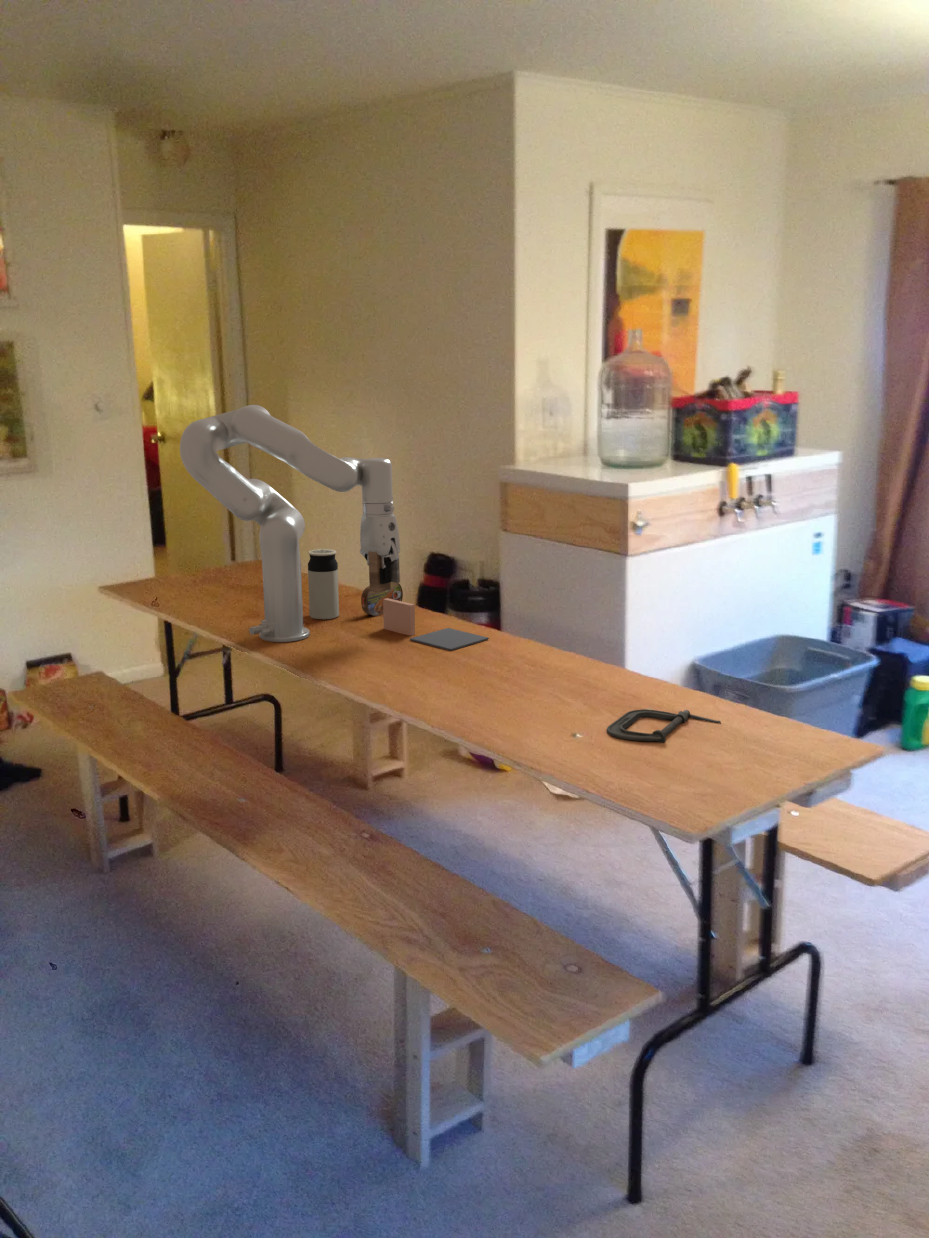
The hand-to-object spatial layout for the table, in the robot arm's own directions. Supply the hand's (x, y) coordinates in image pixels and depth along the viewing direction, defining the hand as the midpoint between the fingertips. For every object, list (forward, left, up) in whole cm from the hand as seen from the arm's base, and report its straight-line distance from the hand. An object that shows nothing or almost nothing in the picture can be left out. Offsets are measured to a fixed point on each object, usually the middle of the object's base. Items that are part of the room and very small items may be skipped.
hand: (380, 581), depth 267 cm
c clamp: (-9, -87, -15) cm, 89 cm away
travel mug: (+4, +26, -15) cm, 30 cm away
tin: (+18, +18, -15) cm, 29 cm away
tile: (+7, 0, -15) cm, 16 cm away
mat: (+10, -15, -14) cm, 23 cm away
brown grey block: (0, 0, -2) cm, 2 cm away
